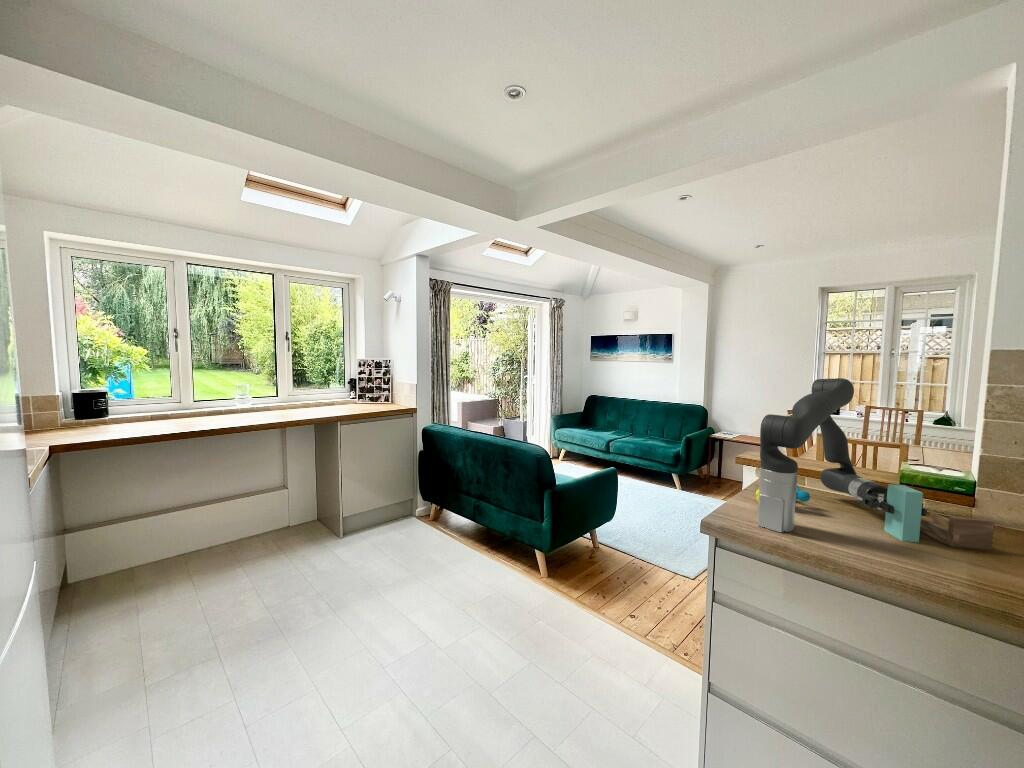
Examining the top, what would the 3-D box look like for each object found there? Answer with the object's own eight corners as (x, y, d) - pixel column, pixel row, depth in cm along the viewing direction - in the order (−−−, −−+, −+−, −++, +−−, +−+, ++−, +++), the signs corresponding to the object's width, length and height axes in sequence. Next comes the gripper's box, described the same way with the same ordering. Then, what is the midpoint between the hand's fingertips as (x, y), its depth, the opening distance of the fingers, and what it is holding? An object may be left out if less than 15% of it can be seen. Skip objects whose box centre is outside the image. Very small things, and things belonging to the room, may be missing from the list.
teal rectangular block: (918, 542, 114) (923, 492, 113) (902, 540, 114) (906, 491, 113) (899, 531, 120) (903, 485, 120) (884, 530, 121) (888, 484, 120)
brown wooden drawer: (991, 550, 109) (994, 521, 109) (951, 547, 111) (954, 518, 110) (935, 524, 127) (937, 498, 126) (901, 521, 129) (903, 496, 128)
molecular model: (767, 519, 137) (815, 505, 132) (754, 492, 137) (802, 477, 133) (755, 504, 151) (798, 491, 147) (743, 480, 152) (786, 466, 147)
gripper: (844, 479, 132) (880, 496, 116) (896, 482, 129) (940, 500, 113) (843, 502, 132) (878, 522, 116) (894, 506, 130) (937, 527, 114)
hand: (908, 511), depth 115 cm, fingers open, 7 cm apart
